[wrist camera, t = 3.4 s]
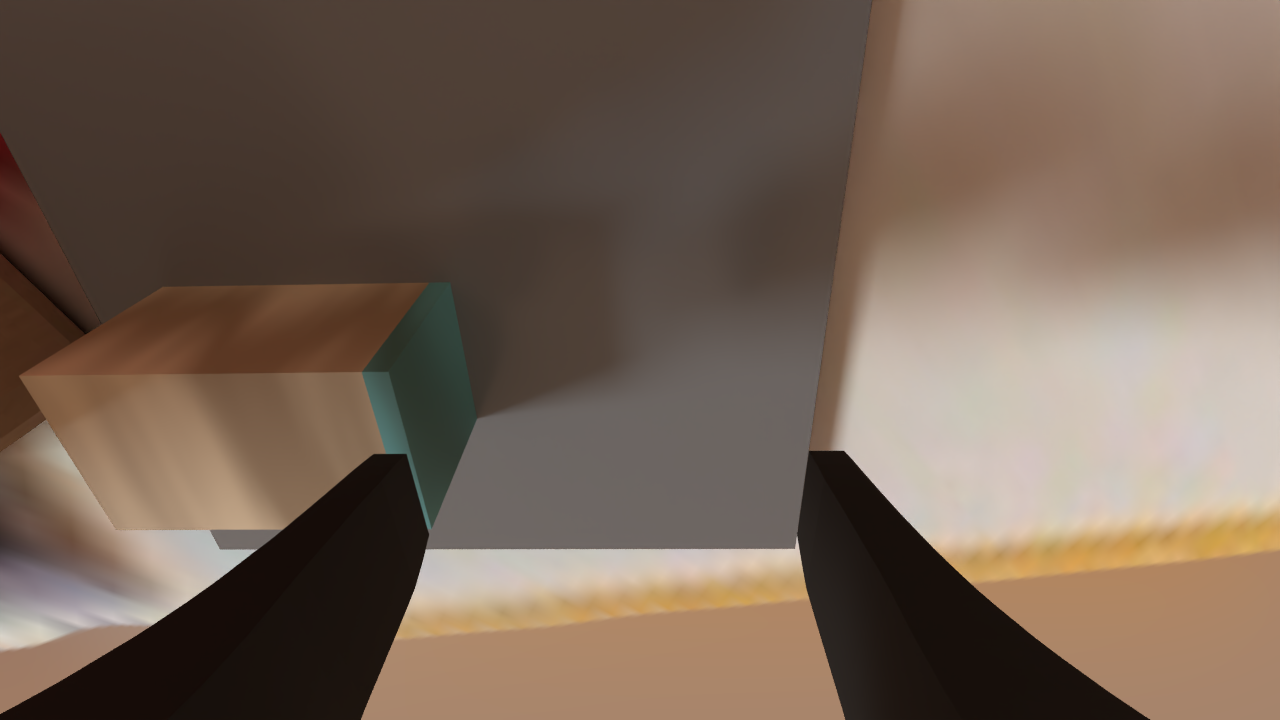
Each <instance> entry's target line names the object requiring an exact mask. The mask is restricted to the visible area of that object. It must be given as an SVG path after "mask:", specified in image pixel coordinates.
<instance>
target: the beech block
mask: <svg viewBox="0 0 1280 720" xmlns="http://www.w3.org/2000/svg"><path fill="white" fill-rule="evenodd" d="M19 377H20V379H21V380H22V382H23V384H24V385H25V387H26V388H27V390H28V391H29V393H30V395H31V396H32V398H33V399H34V401H35V402H36V404H37V406H38V407H39V409H40V410H41V412H42V414H43V415H44V417H45V418H46V420H47V421H48V423H49V425H50V426H51V428H52V429H53V431H54V432H55V434H56V436H57V437H58V439H59V440H60V442H61V444H62V445H63V447H64V448H65V450H66V451H67V453H68V455H69V456H70V458H71V459H72V461H73V462H74V464H75V466H76V467H77V469H78V470H79V472H80V474H81V475H82V477H83V478H84V480H85V481H86V483H87V485H88V486H89V488H90V489H91V491H92V492H93V494H94V496H95V497H96V499H97V500H98V502H99V504H100V505H101V507H102V508H103V510H104V511H105V513H106V515H107V516H108V518H109V519H110V521H111V522H112V524H113V526H114V527H115V529H116V530H283V529H284V528H285V527H287V526H288V525H289V524H290V523H291V522H293V521H294V520H295V519H296V518H297V517H299V516H300V515H301V514H302V513H303V512H305V511H306V510H307V509H308V508H309V507H311V506H312V505H313V504H314V503H315V502H317V501H318V500H319V499H320V498H321V497H322V496H324V495H325V494H326V493H327V492H328V491H329V490H331V489H332V488H333V487H334V486H335V485H336V484H338V483H339V482H340V481H341V480H342V479H343V478H345V477H346V476H347V475H348V474H349V473H351V472H352V471H353V470H354V469H355V468H357V467H358V466H359V465H360V464H361V463H363V462H364V461H365V460H366V459H368V458H369V457H370V456H372V455H373V454H407V457H408V461H409V464H410V468H411V471H412V475H413V479H414V482H415V486H416V489H417V493H418V496H419V500H420V504H421V507H422V511H423V514H424V518H425V522H426V525H427V529H432V527H433V525H434V522H435V520H436V517H437V515H438V513H439V510H440V508H441V505H442V503H443V500H444V498H445V496H446V493H447V491H448V488H449V486H450V483H451V481H452V479H453V476H454V474H455V471H456V469H457V466H458V464H459V462H460V459H461V457H462V454H463V452H464V449H465V447H466V445H467V442H468V440H469V437H470V435H471V432H472V430H473V428H474V425H475V423H476V420H477V416H476V410H475V405H474V400H473V395H472V390H471V385H470V380H469V375H468V370H467V365H466V360H465V355H464V350H463V345H462V340H461V335H460V330H459V325H458V320H457V315H456V310H455V304H454V299H453V294H452V289H451V284H450V282H438V283H376V284H313V285H250V286H187V287H162V288H160V289H159V290H157V291H155V292H154V293H152V294H151V295H149V296H147V297H146V298H144V299H142V300H141V301H139V302H138V303H136V304H134V305H133V306H131V307H129V308H128V309H126V310H125V311H123V312H121V313H120V314H118V315H116V316H115V317H113V318H112V319H110V320H108V321H107V322H105V323H104V324H102V325H100V326H99V327H97V328H95V329H94V330H92V331H91V332H89V333H87V334H86V335H84V336H82V337H81V338H79V339H78V340H76V341H74V342H73V343H71V344H70V345H68V346H66V347H65V348H63V349H61V350H60V351H58V352H57V353H55V354H53V355H52V356H50V357H48V358H47V359H45V360H44V361H42V362H40V363H39V364H37V365H36V366H34V367H32V368H31V369H29V370H27V371H26V372H24V373H23V374H21V375H19Z"/></svg>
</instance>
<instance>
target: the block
mask: <svg viewBox="0 0 1280 720" xmlns="http://www.w3.org/2000/svg"><path fill="white" fill-rule="evenodd" d="M84 335H85V334H84V333H83V332H82V331H81V330H80V329H79V328H78V327H77V326H76V325H75V324H74V323H73V322H72V321H71V320H70V319H69V318H68V317H67V316H65V315H64V314H63V313H62V312H61V311H60V310H59V309H58V308H57V307H56V306H55V305H54V304H53V303H52V302H51V301H50V300H49V299H48V298H47V297H46V296H44V295H43V294H42V293H41V292H40V291H39V290H38V289H37V288H36V287H35V286H34V285H33V284H32V283H31V282H30V281H29V280H28V279H27V278H26V277H24V276H23V275H22V274H21V273H20V272H19V271H18V270H17V269H16V268H15V267H14V266H13V265H12V264H11V263H10V262H9V261H8V260H7V259H6V258H5V257H3V256H2V255H1V254H0V452H1V451H2V450H4V449H5V448H7V447H8V446H9V445H11V444H12V443H14V442H15V441H16V440H18V439H19V438H21V437H22V436H23V435H25V434H26V433H28V432H29V431H30V430H32V429H33V428H35V427H36V426H37V425H39V424H40V423H42V422H43V421H44V420H46V418H45V417H44V415H43V414H42V412H41V410H40V409H39V407H38V406H37V404H36V402H35V401H34V399H33V398H32V396H31V395H30V393H29V391H28V390H27V388H26V387H25V385H24V384H23V382H22V380H21V379H20V377H19V375H21V374H23V373H24V372H26V371H27V370H29V369H31V368H32V367H34V366H36V365H37V364H39V363H40V362H42V361H44V360H45V359H47V358H48V357H50V356H52V355H53V354H55V353H57V352H58V351H60V350H61V349H63V348H65V347H66V346H68V345H70V344H71V343H73V342H74V341H76V340H78V339H79V338H81V337H82V336H84Z"/></svg>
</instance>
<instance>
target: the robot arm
mask: <svg viewBox="0 0 1280 720" xmlns="http://www.w3.org/2000/svg"><path fill="white" fill-rule="evenodd" d="M797 536H798V543H799V549H800V555H801V561H802V567H803V572H804V578H805V583H806V588H807V592H808V595H809V599H810V602H811V605H812V609H813V612H814V616H815V619H816V622H817V626H818V629H819V633H820V636H821V639H822V643H823V646H824V649H825V653H826V656H827V659H828V663H829V666H830V669H831V673H832V676H833V679H834V683H835V686H836V689H837V693H838V696H839V699H840V703H841V706H842V709H843V713H844V717H845V720H1150V719H1148V718H1147V717H1145V716H1144V715H1142V714H1141V713H1139V712H1137V711H1136V710H1135V709H1133V708H1132V707H1130V706H1129V705H1127V704H1126V703H1124V702H1123V701H1121V700H1120V699H1118V698H1117V697H1115V696H1114V695H1112V694H1111V693H1110V692H1108V691H1107V690H1105V689H1104V688H1102V687H1101V686H1100V685H1098V684H1097V683H1096V682H1094V681H1093V680H1091V679H1090V678H1089V677H1087V676H1086V675H1084V674H1083V673H1082V672H1080V671H1079V670H1078V669H1076V668H1075V667H1073V666H1072V665H1071V664H1069V663H1068V662H1066V661H1065V660H1064V659H1062V658H1061V657H1060V656H1058V655H1057V654H1056V653H1054V652H1053V651H1052V650H1050V649H1049V648H1048V647H1046V646H1045V645H1044V644H1042V643H1041V642H1040V641H1039V640H1037V639H1036V638H1035V637H1033V636H1032V635H1031V634H1030V633H1028V632H1027V631H1026V630H1025V629H1024V628H1022V627H1021V626H1020V625H1019V624H1017V623H1016V622H1015V621H1014V620H1013V619H1011V618H1010V617H1009V616H1008V615H1006V614H1005V613H1004V612H1003V611H1002V610H1000V609H999V608H998V607H997V606H996V605H994V604H993V603H992V602H991V601H990V600H988V599H987V598H986V597H985V596H984V595H983V594H981V593H980V592H979V591H978V590H977V589H976V588H975V587H974V586H973V585H971V584H970V583H969V582H968V581H967V580H966V579H965V578H964V577H963V576H962V575H961V574H960V573H959V572H958V571H957V570H956V569H954V568H953V567H952V566H951V565H950V564H949V563H948V562H947V561H946V560H945V559H944V558H943V557H942V556H941V555H940V554H939V553H938V552H937V551H936V550H935V549H934V548H933V547H932V546H931V545H930V544H929V543H928V542H927V541H926V540H925V539H924V538H923V537H922V536H921V535H920V534H919V533H918V532H917V531H916V530H915V529H914V528H913V526H912V525H911V524H910V523H909V522H908V521H907V520H906V519H905V518H904V517H903V516H902V515H901V514H900V513H899V512H898V511H897V510H896V508H895V507H894V506H893V505H892V504H891V503H890V502H889V501H888V500H887V499H886V497H885V496H884V495H883V494H882V493H881V492H880V491H879V490H878V489H877V487H876V486H875V485H874V484H873V483H872V482H871V481H870V479H869V478H868V477H867V476H866V475H865V474H864V473H863V471H862V470H861V469H860V468H859V467H858V466H857V465H856V463H855V462H854V461H853V460H852V459H851V458H850V457H849V456H848V455H847V454H846V452H845V451H809V454H808V461H807V468H806V475H805V482H804V489H803V496H802V504H801V511H800V518H799V525H798V532H797ZM428 538H429V532H428V529H427V525H426V522H425V518H424V514H423V511H422V507H421V504H420V500H419V496H418V493H417V489H416V486H415V482H414V479H413V475H412V471H411V468H410V464H409V461H408V457H407V454H373V455H372V456H370V457H369V458H368V459H366V460H365V461H364V462H363V463H361V464H360V465H359V466H358V467H357V468H355V469H354V470H353V471H352V472H351V473H349V474H348V475H347V476H346V477H345V478H343V479H342V480H341V481H340V482H339V483H338V484H336V485H335V486H334V487H333V488H332V489H331V490H329V491H328V492H327V493H326V494H325V495H324V496H322V497H321V498H320V499H319V500H318V501H317V502H315V503H314V504H313V505H312V506H311V507H309V508H308V509H307V510H306V511H305V512H303V513H302V514H301V515H300V516H299V517H297V518H296V519H295V520H294V521H293V522H291V523H290V524H289V525H288V526H287V527H285V528H284V529H283V530H282V531H281V532H279V533H278V534H277V535H276V536H274V537H273V538H272V539H271V540H269V541H268V542H267V543H265V544H264V545H263V546H262V547H260V548H259V549H258V550H256V551H255V552H254V553H252V554H251V555H250V556H249V557H247V558H246V559H245V560H243V561H242V562H241V563H240V564H238V565H237V566H236V567H234V568H233V569H232V570H231V571H229V572H228V573H227V574H225V575H224V576H223V577H221V578H220V579H219V580H217V581H216V582H215V583H213V584H212V585H211V586H209V587H208V588H206V589H205V590H204V591H202V592H201V593H199V594H198V595H196V596H195V597H194V598H192V599H191V600H189V601H188V602H187V603H185V604H184V605H182V606H181V607H179V608H178V609H176V610H175V611H173V612H172V613H170V614H169V615H167V616H166V617H164V618H163V619H161V620H160V621H158V622H157V623H155V624H154V625H152V626H151V627H149V628H148V629H146V630H144V631H143V632H141V633H140V634H138V635H137V636H135V637H133V638H132V639H130V640H129V641H127V642H125V643H123V644H122V645H120V646H118V647H117V648H115V649H113V650H112V651H110V652H108V653H107V654H105V655H103V656H102V657H100V658H98V659H97V660H95V661H94V662H92V663H90V664H88V665H87V666H85V667H84V668H82V669H80V670H78V671H77V672H75V673H73V674H72V675H70V676H68V677H67V678H65V679H63V680H62V681H60V682H58V683H56V684H55V685H53V686H51V687H49V688H47V689H46V690H44V691H42V692H40V693H38V694H37V695H35V696H33V697H31V698H29V699H27V700H26V701H24V702H22V703H20V704H19V705H17V706H15V707H13V708H11V709H9V710H7V711H5V712H3V713H1V714H0V720H361V718H362V715H363V712H364V710H365V707H366V705H367V703H368V700H369V697H370V695H371V693H372V690H373V688H374V686H375V683H376V681H377V679H378V676H379V674H380V672H381V669H382V667H383V664H384V662H385V660H386V657H387V655H388V652H389V650H390V648H391V645H392V643H393V641H394V638H395V636H396V633H397V631H398V629H399V626H400V624H401V621H402V619H403V616H404V614H405V612H406V609H407V607H408V604H409V602H410V599H411V597H412V594H413V592H414V589H415V586H416V583H417V579H418V576H419V572H420V569H421V565H422V562H423V558H424V554H425V550H426V546H427V542H428Z"/></svg>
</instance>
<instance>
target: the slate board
mask: <svg viewBox="0 0 1280 720" xmlns="http://www.w3.org/2000/svg"><path fill="white" fill-rule="evenodd" d="M871 4H872V0H0V133H1V135H2V137H3V138H4V140H5V142H6V144H7V146H8V148H9V150H10V152H11V154H12V155H13V157H14V159H15V161H16V163H17V165H18V167H19V169H20V171H21V173H22V174H23V176H24V178H25V180H26V182H27V184H28V186H29V188H30V190H31V192H32V193H33V195H34V197H35V199H36V201H37V203H38V205H39V207H40V209H41V211H42V212H43V214H44V216H45V218H46V220H47V222H48V224H49V226H50V228H51V229H52V231H53V233H54V235H55V237H56V239H57V241H58V243H59V245H60V247H61V248H62V250H63V252H64V254H65V256H66V258H67V260H68V262H69V264H70V266H71V267H72V269H73V271H74V273H75V275H76V277H77V279H78V281H79V283H80V285H81V286H82V288H83V290H84V292H85V294H86V296H87V298H88V300H89V302H90V303H91V305H92V307H93V309H94V311H95V313H96V315H97V317H98V319H99V321H100V322H101V324H104V323H105V322H107V321H108V320H110V319H112V318H113V317H115V316H116V315H118V314H120V313H121V312H123V311H125V310H126V309H128V308H129V307H131V306H133V305H134V304H136V303H138V302H139V301H141V300H142V299H144V298H146V297H147V296H149V295H151V294H152V293H154V292H155V291H157V290H159V289H160V288H162V287H187V286H250V285H313V284H376V283H438V282H450V284H451V289H452V294H453V299H454V304H455V310H456V315H457V320H458V325H459V330H460V335H461V340H462V345H463V350H464V355H465V360H466V365H467V370H468V375H469V380H470V385H471V390H472V395H473V400H474V405H475V410H476V416H477V420H476V423H475V425H474V428H473V430H472V432H471V435H470V437H469V440H468V442H467V445H466V447H465V449H464V452H463V454H462V457H461V459H460V462H459V464H458V466H457V469H456V471H455V474H454V476H453V479H452V481H451V483H450V486H449V488H448V491H447V493H446V496H445V498H444V500H443V503H442V505H441V508H440V510H439V513H438V515H437V517H436V520H435V522H434V525H433V527H432V529H428V532H429V538H428V542H427V546H426V549H795V544H796V537H797V530H798V523H799V516H800V509H801V502H802V495H803V488H804V480H805V473H806V466H807V459H808V452H809V445H810V438H811V431H812V424H813V416H814V409H815V402H816V395H817V388H818V381H819V374H820V367H821V360H822V352H823V345H824V338H825V331H826V324H827V317H828V310H829V303H830V296H831V288H832V281H833V274H834V267H835V260H836V253H837V246H838V239H839V232H840V224H841V217H842V210H843V203H844V196H845V189H846V182H847V175H848V168H849V160H850V153H851V146H852V139H853V132H854V125H855V118H856V111H857V104H858V96H859V89H860V82H861V75H862V68H863V61H864V54H865V47H866V40H867V32H868V25H869V18H870V11H871ZM210 531H211V533H212V535H213V537H214V539H215V541H216V543H217V544H218V546H219V548H220V549H259V548H260V547H262V546H263V545H264V544H265V543H267V542H268V541H269V540H271V539H272V538H273V537H274V536H276V535H277V534H278V533H279V532H281V531H282V530H210Z"/></svg>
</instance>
